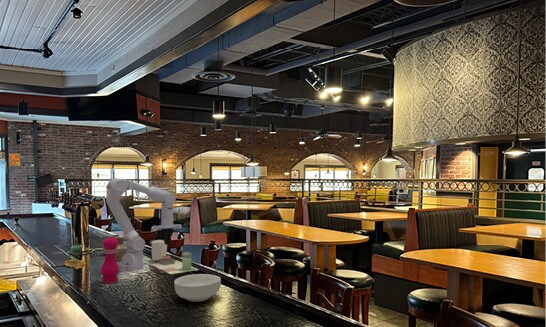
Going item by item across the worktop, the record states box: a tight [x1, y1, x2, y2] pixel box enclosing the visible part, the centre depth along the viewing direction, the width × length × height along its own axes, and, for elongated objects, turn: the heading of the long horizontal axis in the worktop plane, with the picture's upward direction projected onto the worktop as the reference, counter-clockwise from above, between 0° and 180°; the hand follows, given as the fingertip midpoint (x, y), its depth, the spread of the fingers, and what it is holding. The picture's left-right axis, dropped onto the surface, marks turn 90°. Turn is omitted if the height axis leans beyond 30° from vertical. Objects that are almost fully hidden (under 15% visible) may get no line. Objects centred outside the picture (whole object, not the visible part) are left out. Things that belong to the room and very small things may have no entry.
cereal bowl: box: [173, 273, 222, 303], centre depth 151 cm, size 17×17×7 cm
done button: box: [163, 255, 171, 261], centre depth 202 cm, size 4×4×2 cm
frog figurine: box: [64, 236, 87, 270], centre depth 200 cm, size 10×18×15 cm, turn 36°
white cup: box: [150, 239, 168, 261], centre depth 212 cm, size 8×8×10 cm
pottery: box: [101, 234, 127, 262], centre depth 219 cm, size 11×25×12 cm, turn 34°
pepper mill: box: [100, 233, 120, 284], centre depth 172 cm, size 7×7×20 cm
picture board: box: [150, 257, 199, 275], centre depth 195 cm, size 24×14×3 cm, turn 38°
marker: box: [181, 251, 192, 270], centre depth 190 cm, size 4×4×8 cm
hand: (166, 244), depth 202 cm, fingers closed
